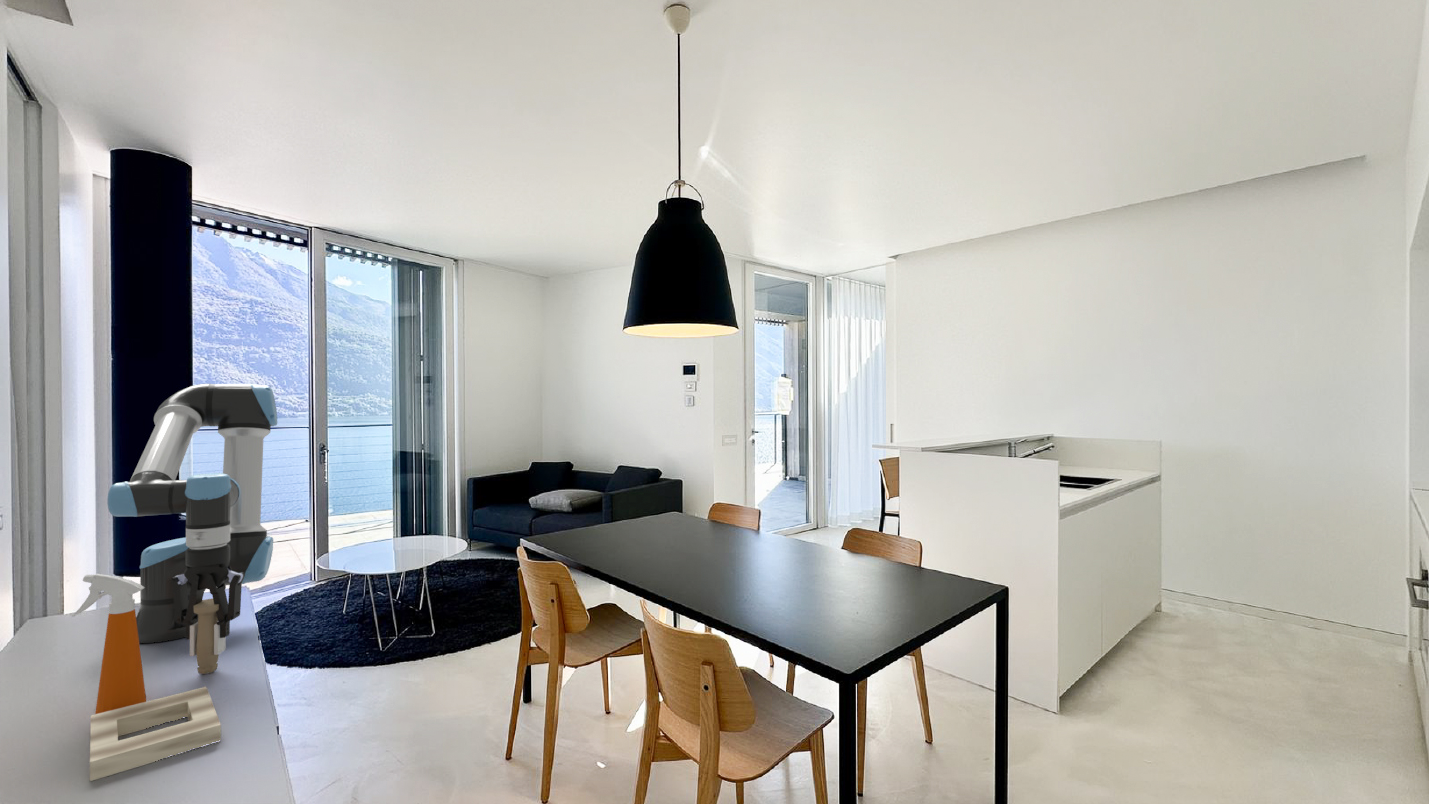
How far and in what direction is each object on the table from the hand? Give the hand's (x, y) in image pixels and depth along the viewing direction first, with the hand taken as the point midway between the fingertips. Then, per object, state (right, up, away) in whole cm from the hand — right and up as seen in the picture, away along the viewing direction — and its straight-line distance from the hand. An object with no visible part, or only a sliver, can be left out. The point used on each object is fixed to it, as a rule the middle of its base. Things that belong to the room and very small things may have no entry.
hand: (207, 652), depth 134 cm
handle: (0, -4, 0) cm, 4 cm away
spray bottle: (-5, -5, -17) cm, 18 cm away
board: (+12, -4, -26) cm, 28 cm away
